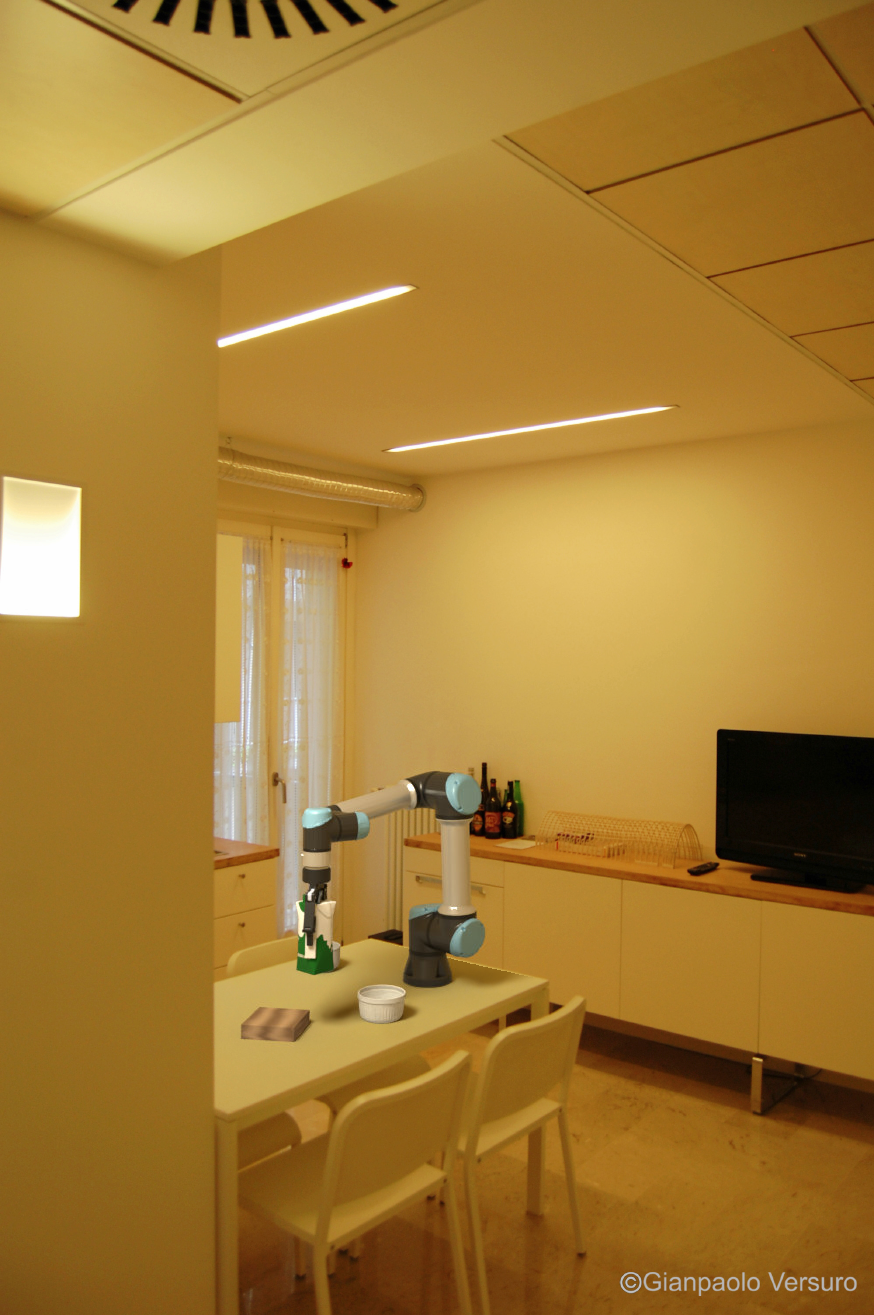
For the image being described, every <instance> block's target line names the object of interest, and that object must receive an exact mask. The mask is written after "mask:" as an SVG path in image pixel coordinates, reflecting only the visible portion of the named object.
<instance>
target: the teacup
mask: <svg viewBox="0 0 874 1315" xmlns="http://www.w3.org/2000/svg"><path fill="white" fill-rule="evenodd" d="M340 961H341V944H340V943H339V942H337V941H334V940H333V962H334V970H335V969H336V968H337V967H338V966H339V965H340ZM334 970H331V971H328V972H324V973H331V972H333V971H334Z"/></svg>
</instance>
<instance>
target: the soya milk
mask: <svg viewBox="0 0 874 1315" xmlns="http://www.w3.org/2000/svg"><path fill="white" fill-rule="evenodd" d="M315 903H317V902H316V900H315ZM295 905H296V906H295V907H296V912H297V918H298V920H297V924H298V926H297V957H296V969H295V970H296V971H298V972H301V973H304V974H309V975H311V976H317V975H320V974H323V973H324V972H326V973H329V972H328V971H331V970H333V971H335V969H334V962H333V941H334V940H333V939H334V931H333V930H334V915H335V910H336V905H337V901H335V900H330V899H328V898H327V899H326V900H321V903H320V904H315V914H314V916H316V928H315V932H316V958H305V933H302V930H303V923H304V910H305V893H304V894H302V900H298V901H295ZM331 972H332V971H331Z"/></svg>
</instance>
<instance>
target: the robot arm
mask: <svg viewBox="0 0 874 1315" xmlns="http://www.w3.org/2000/svg"><path fill="white" fill-rule="evenodd" d="M482 796H483V795H482V789H481V787H480V784H479V783H478V781H477V780H476V779H475V778H474V777H473V776H472V775H469V774H465V773H462V772H451V771H440V770H432V771H431V770H430V771H426V772H422V773H419V774H416V775H413V776H410V777H406V778H403V779H401V780H399V781H398V782H397V784H395V785H392V786H389V787H385V788H382V789H379V790H377V791H373V792H369V793H366V794H362V795H360V796H357V797H352V798H351V799H348V800H347V799H346V800H343V801H340V802H337V803H334V804H331V805H327V806H323V807H320V806H318V807H317V806H314V807H308V808H306V809H304V812H303V814H302V817H301V825H302V853H300V857H301V858H302V866H303V868H302V870H301V872H302V873H301V874H302V877H301V879H302V880H301V881H302V882H303V883H305V884H308V885H309V886H308V889H307V892H305V893H304V894H305V910H304V923H303V930H302V933H305V958H316V932H315V928H316V916H314V914H315V904H320V903H321V900H326V899H327V900H328V883H329V882H331V881H332V874H331V873H332V868H331V867H330V866H331V865H332V844H333V843H340V842H342V843H343V842H351V841H355V842H357V841H358V840H364V839H365V838H367V837H368V836H369V833H370V831H371V822H370V821H373V820H375V819H378V818H381V817H383V816H386V815H390V814H393V813H396V812H399V811H402V810H405V811H414V810H417V809H428V810H430V809H431V810H434V813H435V818H434V819H435V820H436V821H437V822H438V823H439V824H440V848H441V849H440V851H441V852H440V853H441V854H440V855H441V856H440V857H441V885H442V886H441V887H442V889H441V890H442V892H441V893H442V903H440V902H439V903H438V902H437V903H436V902H434V903H433V902H431V903H423V904H418V905H414V906H412V907H410V909H409V911H408V913H409V914H408V956H407V959H406V962H405V965H404V969H403V972H402V980H403V983H404V984H406V985H409V986H413V987H419V988H437V987H442V986H447V985H449V984H451V983H452V981H453V971H452V969H451V966H450V963H449V959H448V955H452V956H453V957H457V958H463V959H464V958H465V959H467V958H471V957H473V956H474V955H476V954H477V953H478V952H479V951H480V949H481V948H482V946H483V944H484V942H485V938H486V928H485V925H484V924H483V923H482V921H481V920H480V919H478V918H477V917H478V916H477V915H478V913H477V907H476V906H475V905H474V904H473V903H472V881H471V880H472V879H471V878H472V877H471V876H472V874H471V871H472V870H471V846H470V845H471V839H470V838H471V837H470V823H471V822H472V821H473V820H474V819H475V813H476V812H477V811H478V810H479V809H480V807H479V806H480V805H481V804H482ZM315 900H316V902H317V903H315ZM447 954H448V955H447Z"/></svg>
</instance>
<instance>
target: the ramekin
mask: <svg viewBox="0 0 874 1315" xmlns="http://www.w3.org/2000/svg"><path fill="white" fill-rule="evenodd" d="M406 998H407V992H406V990H405V989H404V988H402V987H400V986H398V985H392V984H391V985H390V984H373V985H372V984H371V985H367V986H364V987H361V988H359V990H358V991H357V999H358V1009H359V1015H360V1017H361V1018H362V1020H364V1021H366V1022H368V1023H371V1024H372V1023H373V1024H390V1022H391V1023H395V1022H397V1021H399V1020H400V1019H401V1018H402V1016H403V1013H404V1009H405V1008H404V1007H405V999H406ZM394 1021H395V1022H394Z"/></svg>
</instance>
